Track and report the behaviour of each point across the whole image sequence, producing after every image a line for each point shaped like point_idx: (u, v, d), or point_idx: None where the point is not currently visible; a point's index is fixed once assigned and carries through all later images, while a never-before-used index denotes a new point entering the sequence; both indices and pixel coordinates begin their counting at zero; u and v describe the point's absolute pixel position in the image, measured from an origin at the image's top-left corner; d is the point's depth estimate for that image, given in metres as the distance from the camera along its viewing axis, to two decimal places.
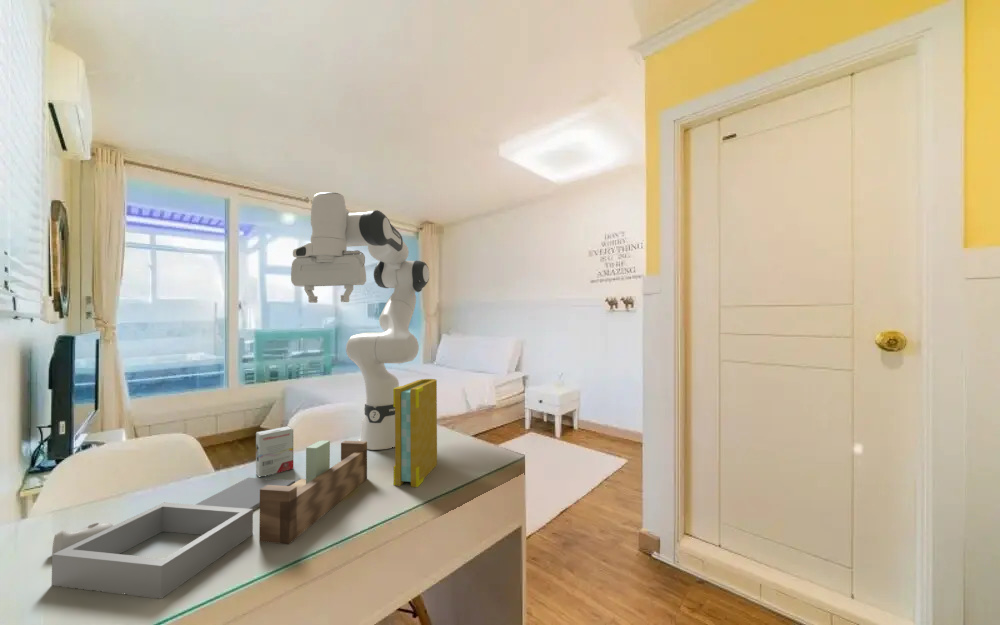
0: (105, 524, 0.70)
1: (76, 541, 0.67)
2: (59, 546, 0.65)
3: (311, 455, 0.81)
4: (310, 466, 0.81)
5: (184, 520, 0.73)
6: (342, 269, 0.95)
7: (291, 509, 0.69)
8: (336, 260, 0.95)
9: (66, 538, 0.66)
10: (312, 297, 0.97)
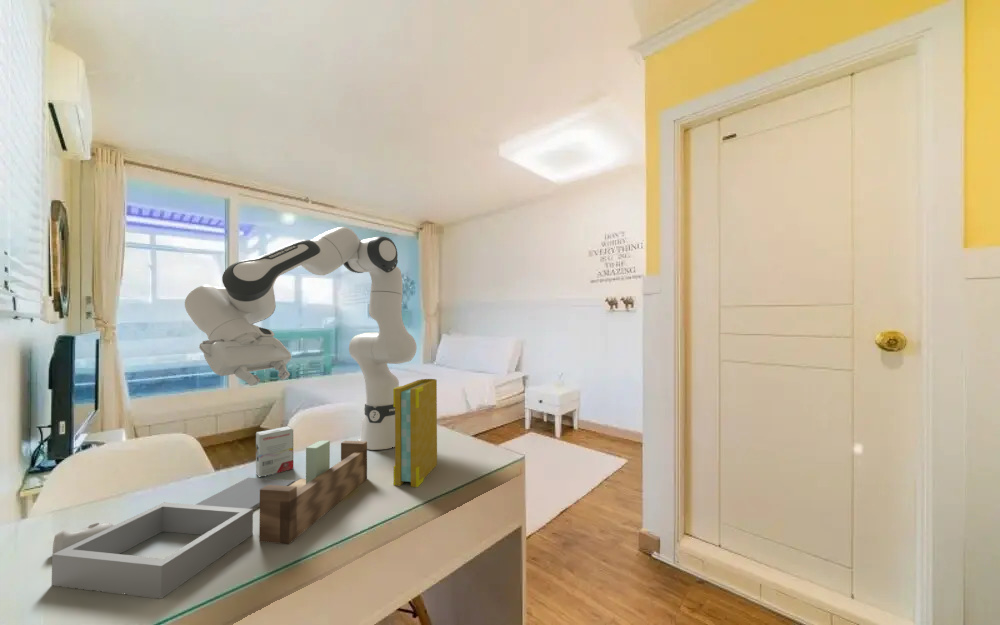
0: (106, 524, 0.70)
1: (77, 541, 0.67)
2: (60, 546, 0.65)
3: (311, 455, 0.81)
4: (310, 466, 0.81)
5: (184, 520, 0.73)
6: None
7: (291, 509, 0.69)
8: None
9: (66, 538, 0.66)
10: None
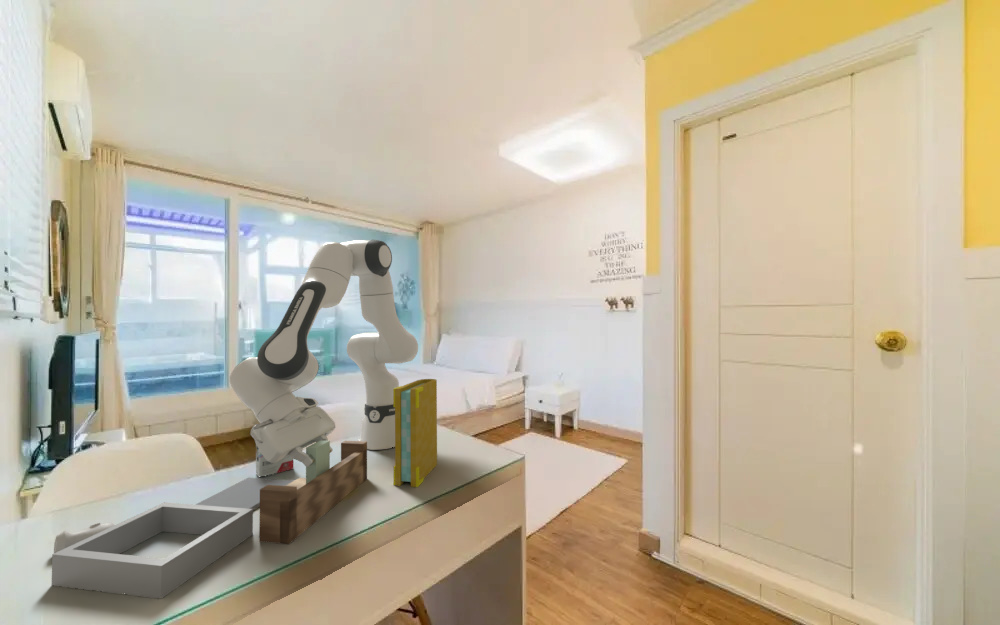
0: (107, 524, 0.70)
1: (79, 541, 0.67)
2: (62, 546, 0.65)
3: None
4: (310, 466, 0.81)
5: (184, 520, 0.73)
6: None
7: (291, 509, 0.69)
8: None
9: (68, 539, 0.66)
10: None
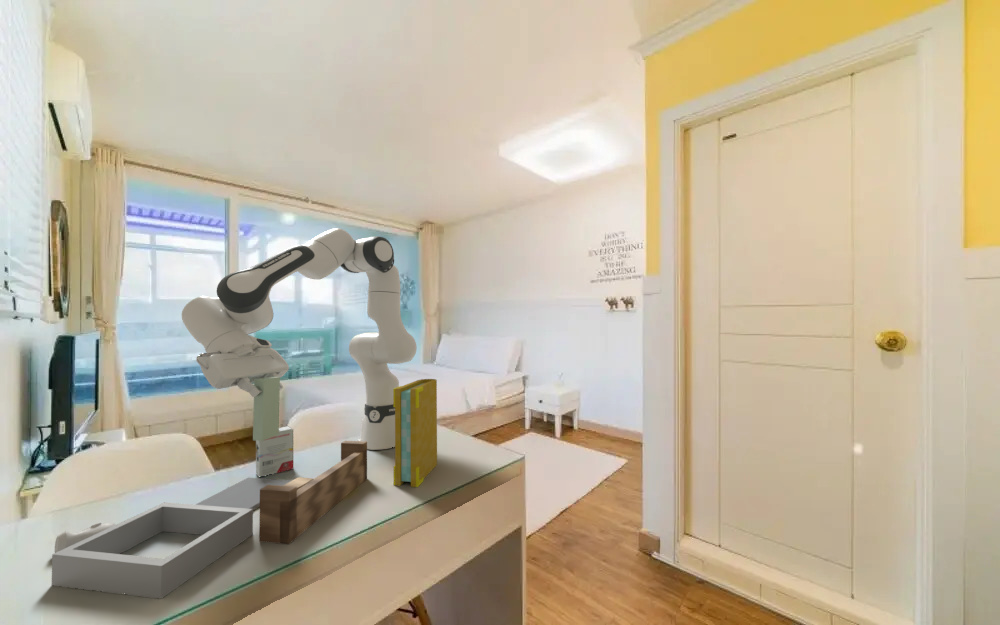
0: (108, 524, 0.70)
1: None
2: (63, 547, 0.65)
3: None
4: (258, 398, 0.83)
5: (184, 520, 0.73)
6: None
7: (291, 509, 0.69)
8: None
9: (69, 539, 0.66)
10: None
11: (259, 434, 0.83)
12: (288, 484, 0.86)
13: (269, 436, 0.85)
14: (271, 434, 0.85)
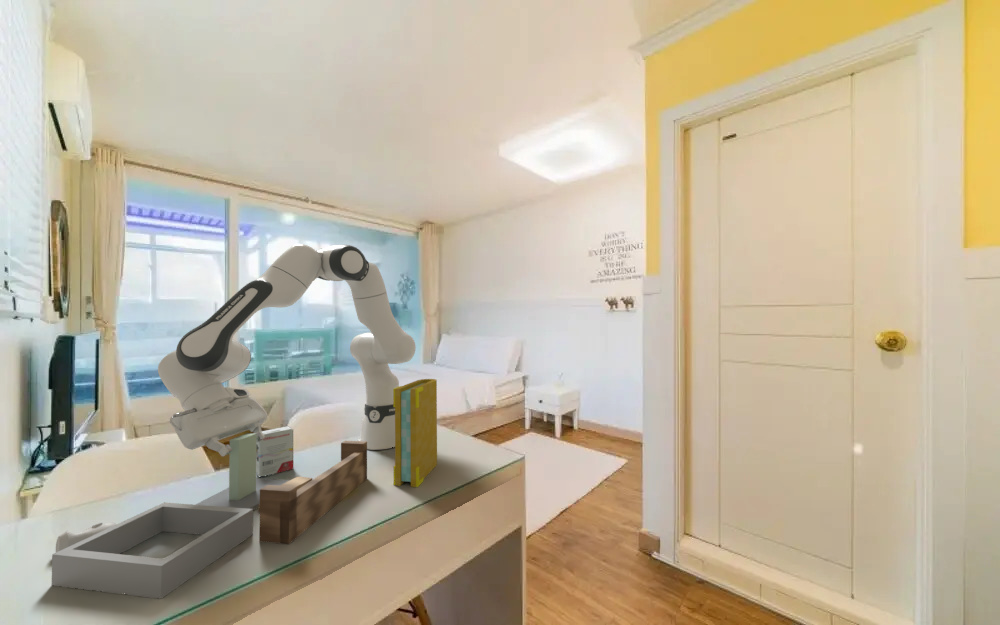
0: (110, 523, 0.70)
1: None
2: (65, 547, 0.65)
3: (234, 447, 0.84)
4: (233, 458, 0.84)
5: (184, 520, 0.73)
6: None
7: (291, 509, 0.69)
8: None
9: (71, 539, 0.66)
10: None
11: (235, 494, 0.84)
12: (287, 483, 0.87)
13: (245, 494, 0.86)
14: (248, 492, 0.87)
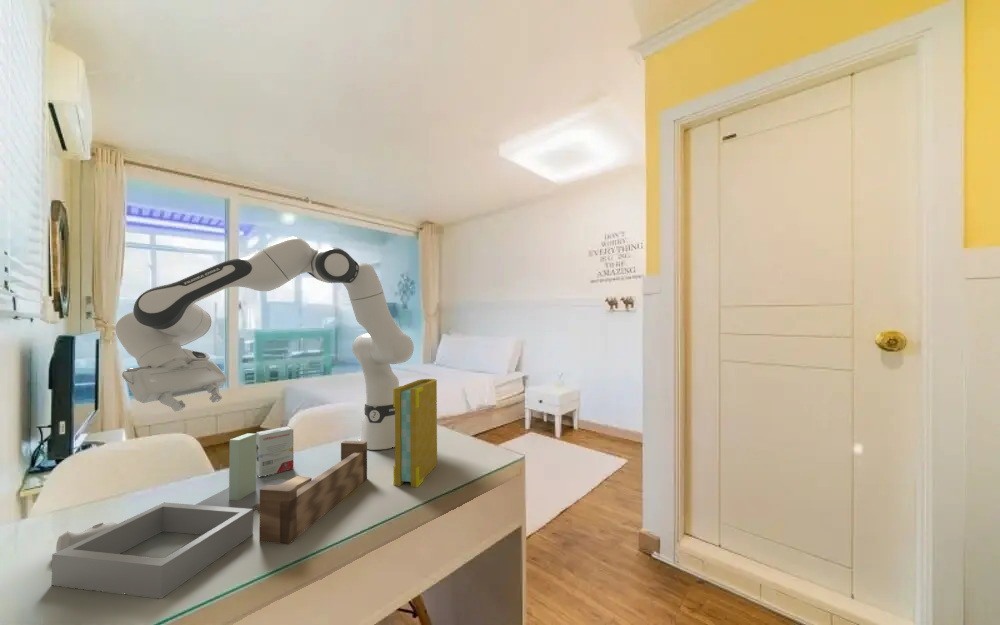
0: (111, 523, 0.70)
1: None
2: (66, 547, 0.65)
3: (234, 447, 0.84)
4: (233, 458, 0.84)
5: (184, 520, 0.73)
6: None
7: (291, 509, 0.69)
8: None
9: (72, 539, 0.66)
10: None
11: (235, 494, 0.84)
12: (286, 483, 0.87)
13: (245, 494, 0.86)
14: (248, 492, 0.87)
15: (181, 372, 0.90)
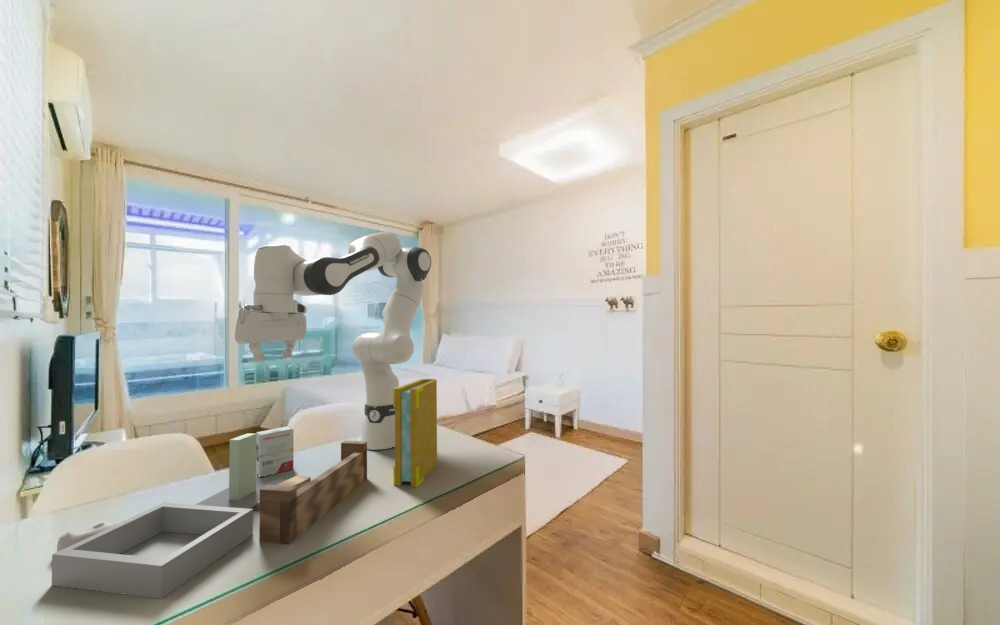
0: (111, 523, 0.70)
1: None
2: None
3: (234, 447, 0.84)
4: (233, 458, 0.84)
5: (184, 520, 0.73)
6: None
7: (291, 509, 0.69)
8: None
9: (73, 539, 0.66)
10: None
11: (235, 494, 0.84)
12: (285, 482, 0.87)
13: (245, 494, 0.86)
14: (248, 492, 0.87)
15: (279, 322, 0.93)
